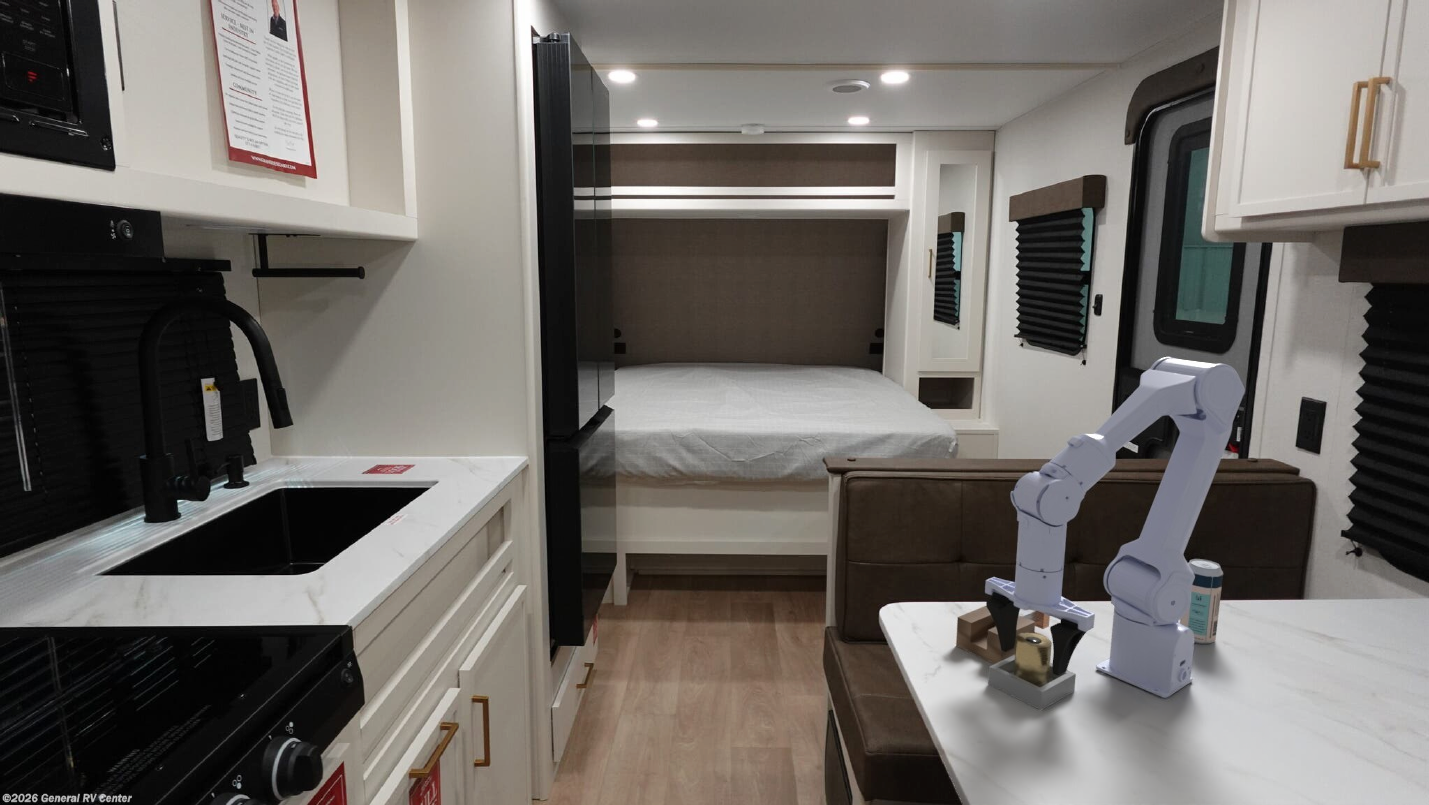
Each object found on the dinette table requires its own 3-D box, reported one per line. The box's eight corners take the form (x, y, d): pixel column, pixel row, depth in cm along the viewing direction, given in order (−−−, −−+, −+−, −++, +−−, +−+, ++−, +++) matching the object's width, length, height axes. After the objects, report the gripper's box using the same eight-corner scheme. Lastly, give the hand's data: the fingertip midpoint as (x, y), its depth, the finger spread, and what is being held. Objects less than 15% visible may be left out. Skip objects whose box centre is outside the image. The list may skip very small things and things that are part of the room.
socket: (1074, 691, 102) (1075, 673, 101) (1040, 710, 97) (1042, 692, 97) (1021, 667, 108) (1022, 650, 108) (988, 683, 104) (989, 666, 103)
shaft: (1048, 626, 118) (1050, 604, 117) (1012, 643, 112) (1013, 620, 112) (1025, 617, 121) (1027, 595, 121) (988, 633, 116) (989, 611, 115)
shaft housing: (1033, 650, 113) (1035, 621, 112) (1000, 666, 108) (1002, 636, 107) (988, 631, 119) (990, 603, 118) (956, 645, 114) (957, 617, 114)
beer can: (1205, 631, 119) (1213, 558, 117) (1222, 646, 114) (1230, 570, 112) (1172, 630, 119) (1180, 557, 117) (1188, 645, 114) (1196, 569, 112)
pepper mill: (1055, 684, 102) (1058, 641, 101) (1036, 694, 100) (1039, 651, 99) (1025, 670, 106) (1028, 629, 105) (1006, 680, 103) (1009, 638, 102)
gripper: (973, 554, 103) (968, 647, 106) (1075, 589, 92) (1067, 693, 94) (1004, 543, 107) (999, 634, 110) (1106, 576, 96) (1097, 676, 98)
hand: (1032, 660), depth 102 cm, fingers open, 7 cm apart
